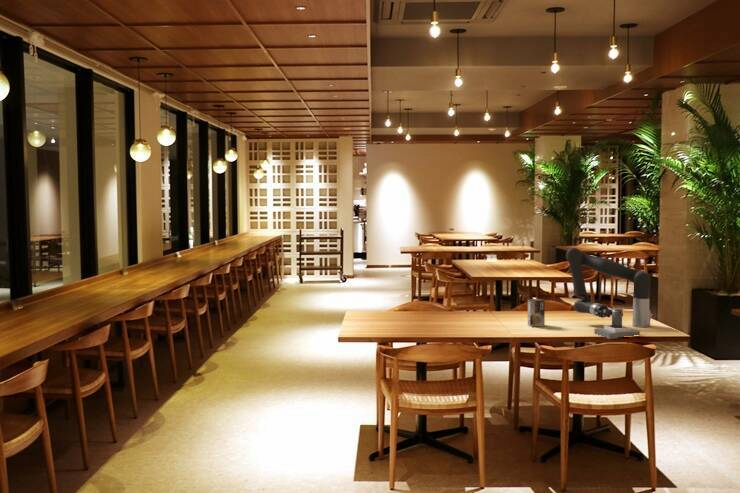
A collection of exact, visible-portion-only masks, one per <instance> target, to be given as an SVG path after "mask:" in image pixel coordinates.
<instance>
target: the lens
mask: <svg viewBox="0 0 740 493" xmlns="http://www.w3.org/2000/svg"><path fill="white" fill-rule="evenodd" d="M611 309H612V316H611V325H612V328H622V325H623V316H622V313H623V308H617V307H616V308H611Z"/></svg>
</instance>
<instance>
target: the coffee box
mask: <svg viewBox="0 0 740 493" xmlns="http://www.w3.org/2000/svg"><path fill="white" fill-rule="evenodd" d="M545 305H546V303H545V299H543V298H532V299H531V298H528V299H527V326H529V327H530V326H540V327H545V326H546V325H545V323H546V322H545V315H546V314H545V312H546V310H545V307H546V306H545Z"/></svg>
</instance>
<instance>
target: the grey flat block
mask: <svg viewBox="0 0 740 493" xmlns="http://www.w3.org/2000/svg"><path fill="white" fill-rule="evenodd" d="M593 333H595V334H594V335H596V334H598V335H597V336H599V335H601V336H600V337H602V336H603V337H602V338H605V337H606V338H605V339H608V340H615V339H619V338H618V337H624V336H634V335H640V336H641V331H640V330H637V329H633V328H631V327H629V326H626V325H623V324H622V328H612V324H607V325H603V327H599V328H594V332H593Z"/></svg>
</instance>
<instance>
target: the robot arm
mask: <svg viewBox="0 0 740 493" xmlns="http://www.w3.org/2000/svg"><path fill="white" fill-rule="evenodd" d="M565 258H566V260H567V261H568V264H569V266H570V270H571V277H572V286H573V287H572V288H573V291H574V295H575V297H577V298H578V297H580V298H581V299H579V300H576V301H575V302H574V304H573V308H574V310H575V311H576V312H577V313H582V314H590V315H593V316H595V317H598V318H602V319H604V318H611V317H612V309H613V308H609V307H608V306H607V305H605V304H602V303H597V302H593V301H592V300H591V299H590V297H589V294H588V292H587V286H586V283H585V278H584V274H583V269H582V266H584V267H587V268H589V269H591V270H594V271H596V272H598V273H601V274H604V275H606V276H610V277H614V278H618V279H624V280H627V281H629V282H632V283H633V294H632V295H633V296H632V298H633V300H632V327H636V328H648V327H651V310H650V297H651V277H650V275H649V273H647V272H646V271H643V270H639V269H635V268H631V267H628V266H625V265H624V264H621V263H619V262H616V261H614V260H612V259H611V260H610V259H608V258H605V257H602V256H601V257H600V256H595V255H591V254H588V253H585V252H583V251H581V250H580V249H578V248H577V247H571V248H569V249H568V250H567V251H566V253H565ZM622 317H624V313H623V312H622Z"/></svg>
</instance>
